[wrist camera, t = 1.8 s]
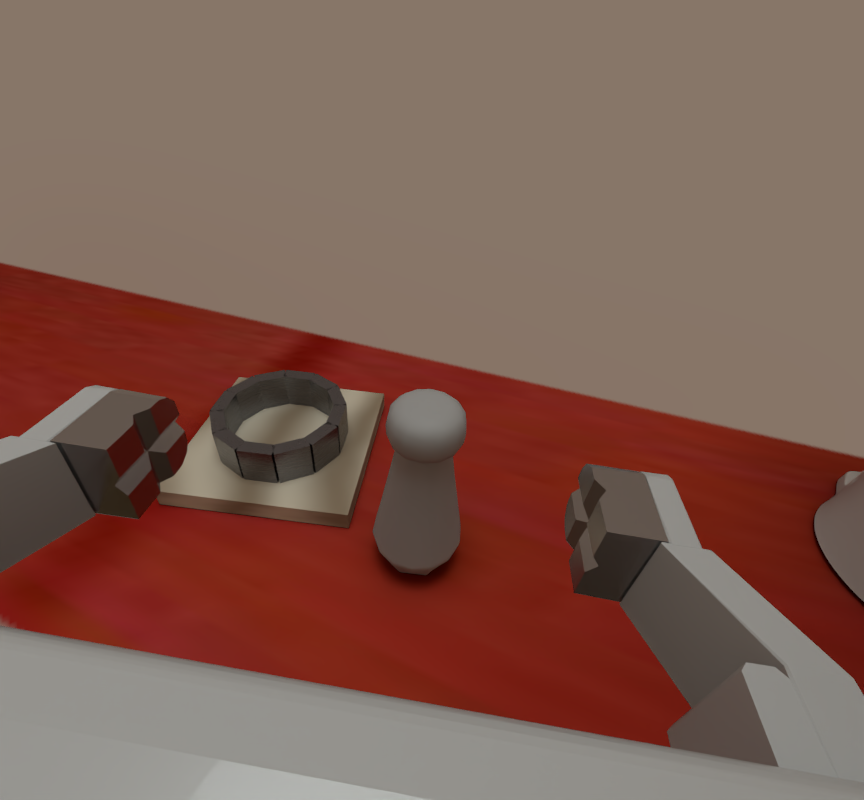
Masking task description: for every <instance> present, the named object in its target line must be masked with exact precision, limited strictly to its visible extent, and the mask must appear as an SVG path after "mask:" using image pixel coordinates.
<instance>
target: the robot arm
mask: <svg viewBox="0 0 864 800" xmlns="http://www.w3.org/2000/svg"><path fill="white" fill-rule="evenodd" d="M178 416H179V412H178V409H177V407H176V404H175V401H173V400H171V399H169V398H166V397H161V396H155V395H150V394H144V393H139V392H133V391H128V390H122V389H114V388H108V387H103V386H98V385H94V386H90V387H85V388H84V389H83V390H81V391H80V392H79V393H77V394H76V395H75V396H73V397H72V398H71V399H69V400H68V401H67V402H65V403H64V404H63V405H61V406H60V407H59V408H57V409H56V410H55V411H53V412H52V413H51V414H49V415H48V416H47V417H45V418H44V419H43V420H41V421H40V422H39V423H37V424H36V425H35V426H33V427H32V428H31V429H29V430H28V431H27V432H25V433H24V434H23V435H21V436H20V437H15V436H9V437H6V438H3V439H0V573H1V572H2V571H4V570H6V569H7V568H9V567H11V566H12V565H14V564H16V563H17V562H19V561H20V560H22V559H24V558H25V557H27V556H29V555H30V554H32V553H34V552H35V551H37V550H39V549H40V548H42V547H44V546H45V545H47V544H49V543H50V542H52V541H54V540H55V539H57V538H59V537H60V536H62V535H64V534H65V533H67V532H69V531H70V530H72V529H74V528H75V527H77V526H79V525H80V524H82V523H84V522H85V521H87V520H89V519H90V518H92V517H94V516H95V515H96V514H95V513H99V514H106V515H114V516H121V517H128V518H135V519H139V518H140V517H141V516H142V515H143V514H144V512H145V511H146V510H147V509H148V507H149V506H150V505H151V504H152V502H153V501H154V500H155V499H156V498H157V496H158V495H159V494H160V493H161V491H160V483H161V482H163V481H165V480H167V479H169V478H171V477H173V476H174V475H175V474H176V473H177V471H178V470H179V469H180V467H181V466H182V465H183V462H184V459H185V456H186V454H187V437H186V434H185V431H184V430H183V429H182V428H181V427H180V426H179V425H178V424H177V423H176V422H175V420H176V419H177V417H178ZM578 480H579V485H580V489H578V490H576V491H575V492H573V493H571V496H570V499H569V501H568V504H567V508H566V514H565V535H566V541H567V542H568V543H569V544H570V545H571V547H572V548H573V549H574V551H573V553H572V555H571V558H570V560H569V564H570V570H571V577H572V584H573V590H574V593H578V594H583V595H588V596H593V597H598V598H603V599H608V600H613V601H619V602H620V605H621V607H622V608H623V610H624V611H625V613H626V614H627V616H628V617H629V618H630V620H631V621H632V623H633V624H634V626H635V627H636V628H637V630H638V631H639V633H640V634H641V636H642V637H643V639H644V640H645V641H646V643H647V644H648V646H649V647H650V649H651V650H652V651H653V653H654V654H655V656H656V657H657V659H658V660H659V661H660V663H661V664H662V666H663V667H664V669H665V670H666V672H667V673H668V674H669V676H670V677H671V679H672V680H673V682H674V683H675V684H676V686H677V687H678V689H679V690H680V692H681V693H682V695H683V696H684V697H685V699H686V700H687V702H688V703H689V705H690V706H691V707H692V709H690V710H689V711H688V712H687V713H686V714H685V715H683V716H682V717H681V718H680V719H679V720H678V721H676V722H675V723H674V724H673V725H672V726H671V727H670V728H669V730H668V731H667V733H668V737H669V741H670V745H671V747H666V746H660V745H655V744H649V743H644V742H638V741H633V740H627V739H622V738H616V737H611V736H605V735H600V734H594V733H589V732H583V731H578V730H572V729H567V728H561V727H556V726H550V725H545V724H539V723H534V722H528V721H523V720H517V719H512V718H506V717H501V716H495V715H490V714H484V713H479V712H473V711H468V710H462V709H457V708H451V707H446V706H440V705H435V704H429V703H424V702H418V701H413V700H407V699H402V698H396V697H391V696H385V695H380V694H374V693H369V692H363V691H358V690H352V689H347V688H341V687H336V686H330V685H325V684H319V683H314V682H308V681H303V680H297V679H292V678H286V677H281V676H275V675H270V674H264V673H259V672H253V671H248V670H242V669H237V668H231V667H226V666H220V665H215V664H209V663H204V662H198V661H193V660H187V659H182V658H176V657H171V656H165V655H159V654H154V653H148V652H143V651H137V650H132V649H126V648H121V647H115V646H110V645H104V644H99V643H93V642H88V641H82V640H77V639H71V638H66V637H60V636H55V635H49V634H44V633H38V632H33V631H27V630H21V629H16V628H10V627H5V626H0V800H864V695H863V694H862V692H861V690H860V689H859V687H858V685H857V683H856V682H855V680H854V679H853V678H852V677H851V676H850V675H849V674H848V673H847V672H846V671H845V670H843V669H842V668H841V667H840V666H839V665H838V664H837V663H836V662H835V661H833V660H832V659H831V658H830V657H829V656H828V655H827V654H826V653H825V652H823V651H822V650H821V649H820V648H819V647H818V646H817V645H816V644H815V643H813V642H812V641H811V640H810V639H809V638H808V637H807V636H806V635H805V634H803V633H802V632H801V631H800V630H799V629H798V628H797V627H796V626H795V625H793V624H792V623H791V622H790V621H789V620H788V619H787V618H786V617H785V616H783V615H782V614H781V613H780V612H779V611H778V610H777V609H776V608H775V607H773V606H772V605H771V604H770V603H769V602H768V601H767V600H766V599H765V598H763V597H762V596H761V595H760V594H759V593H758V592H757V591H756V590H755V589H753V588H752V587H751V586H750V585H749V584H748V583H747V582H746V581H745V580H743V579H742V578H741V577H740V576H739V575H738V574H737V573H736V572H735V571H733V570H732V569H731V568H730V567H729V566H728V565H727V564H726V563H725V562H723V561H722V560H721V559H720V558H719V557H718V556H717V555H716V554H715V553H713V552H712V551H711V550H706V549H702V547H701V544H700V542H699V540H698V537H697V535H696V533H695V530H694V528H693V526H692V524H691V521H690V519H689V517H688V514H687V512H686V510H685V507H684V505H683V503H682V500H681V498H680V496H679V494H678V491H677V489H676V487H675V484H674V482H673V480H672V479H671V478H670V477H669V476H668V475H662V474H655V473H648V472H637V471H632V470H625V469H618V468H612V467H605V466H598V465H592V464H586V465H585V466H584V467H583V468H582V470H581V473H580V475H579V477H578ZM814 527H815V533H816V537H817V540H818V542H819V545H820V547H821V549H822V551H823V553H824V554H825V556H826V558H827V559H828V561H829V563H830V564H831V565H832V567H833V568H834V570H835V571H836V572H837V573H838V575H839V576H840V577H841V578H842V580H843V581H844V582H845V583H846V584H847V585H848V586H849V587H850V589H851V590H852V591H853V592H854V593H855V594H856V595H857V596H858V597H859V598H860V599H861V600H862V601H863V602H864V471H862V472H856V471H849V472H847V473H846V474H844V475H843V476H842V477H841V478H839V479H838V481H837V487H836V494H835V496H834V497H832V498H831V499H829V500H828V501H826V502H825V503H823V504H822V505H821V506H820V507H819V509H818V510H817V512H816V515H815V519H814Z"/></svg>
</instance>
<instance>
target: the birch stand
mask: <svg viewBox="0 0 864 800" xmlns="http://www.w3.org/2000/svg"><path fill="white" fill-rule="evenodd" d="M246 379H248V378H242V377H239V378H238V379H237V381H236V382H235V383H234V385H236V384H238V383H240V382H242V381H244V380H246ZM234 385H233V386H234ZM233 386H232V387H233ZM340 391H341V393H342V395H343V397H344V399H345V402H346V404H347V419H348V435H347V437H346V440H345V443H344V446H343V448H342V451H341V453H339V454H340V455H339V456H337V457H336V458H335V459H334V460H332V461H331V462H330V463H328V464H327V465H326V466H325V467H323V468H322V469H321V470H319V471H318V472H317V473H315V472H314V474H313V475H309V476H305V477H301V478H298V479H294V480H290V481H286V482H283V483H280V481H279V482H278V483H270V482H262V481H254V480H246V479H244V478H243V479H242V478H241V477H240V476H238V475H237V474H236V473H235V472H233V471H232V470H231V469H229V468H228V467H227V466H225V465H224V464H223V463H222V462H221V460H220V457H219V454H218V451H217V447H216V444H215V441H214V438H213V435H212V431H211V421H210V416H209V418H208V419H207V420H206V422H205V423H204V424H203V426H202V427H201V428H200V430H199V431H198V432H197V434H196V435H195V436H194V438H193V439H192V440H191V441H190V443H189V444H188V445H187V454H186V456H185V459H184V462H183V465H182V466H181V467H180V469H179V470H178V471H177V473H176V474H175V475H174V476H173V477H171V478H169V479H167V480H165V481H163V482H161V483H160V491H161V493H160V494H159V495H158V496H157V500H158V502H159V504H163V505H170V506H178V507H186V508H194V509H202V510H210V511H218V512H226V513H234V514H242V515H249V516H257V517H265V518H273V519H281V520H289V521H297V522H305V523H313V524H321V525H328V526H336V527H344V528H349V525H350V522H351V518H352V515H353V511H354V508H355V505H356V501H357V498H358V494H359V491H360V487H361V484H362V480H363V477H364V474H365V470H366V467H367V463H368V460H369V456H370V453H371V449H372V446H373V443H374V439H375V436H376V432H377V429H378V425H379V422H380V418H381V415H382V412H383V408H384V394H380V393H371V392H363V391H354V390H345V389H340ZM328 417H329V416H328V415H326V414H324V413H322V412H321V411H319V410H317V409H316V408H314V407H311V406H303V405H294V404H286V405H281V406H277V407H272V408H267V409H263V410H262V411H260V412H258V413H257V414H255V415H253V416H252V417H250V418H248V419H247V420H245V421H243V423H242V424H241V426H240V427H239V429H238V430H237V432H236V433H235V435H237V436H238V437H240V438H241V439H243V440H244V441H248V442H256V443H265V444H273V445H275V444H279V443H283V442H287V441H292V440H296V439H300V438H304V437H306V436H307V435H309V434H310V433H312V432H313V431H315V430H316V429H318V428H319V427H320V426H322V425H323V424H325V423H326V422H327V419H328Z"/></svg>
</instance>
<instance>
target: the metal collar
mask: <svg viewBox="0 0 864 800" xmlns="http://www.w3.org/2000/svg"><path fill="white" fill-rule="evenodd" d="M254 376H255V377H253V376H252V377H250V378H248V379H246V380H244V381H242V382H240V383H238V384H236V385H234V386H233V387H231V388H229V389H227V391H224V393H223V394H222V395H221V397H220V398H219V399H218V401H217V402H216V403H215V404H214V406H213V407H212V408H211V410H210V421H211V431H212V435H213V438H214V441H215V444H216V447H217V451H218V454H219V457H220V460H221V462H222V463H223V464H224V465H225V466H227V467H228V468H229V469H231V470H232V471H233V472H235V473H236V474H237V475H238V476H240V477H241V478H242V479H243V478H244V479H246V480H254V481H262V482H270V483H278V482H279V481H280V483H283V482H286V481H290V480H294V479H298V478H301V477H305V476H309V475H313V474H314V472H315V473H317V472H318V471H319V470H321V469H322V468H323V467H325V466H326V465H327V464H328V463H330V462H331V461H332V460H334V459H335V458H336V457H337V456H339V455H340V454H339V453H341V451H342V448H343V446H344V443H345V440H346V437H347V435H348V419H347V404H346V402H345V399H344V397H343V395H342V393H341V391H340V389H339V387H338V386H337V385H336V384H334V383H333V382H331V381H329V380H327V379H325V378H323V377H322V376H320V375H318V374H315V373H308V372H300V371H291V370H286V372H285V370H282V371H277V372H271V373H265V374H260V375H254ZM286 404H294V405H303V406H311V407H314V408H316V409H317V410H319V411H321V412H322V413H324V414H326V415H328V416H329V417H328V419H327V422H326V423H325V424H323V425H322V426H320V427H319V428H318V429H316V430H315V431H313V432H312V433H310V434H309V435H307V436H306V437H304V438H300V439H296V440H292V441H287V442H283V443H279V444H275V445H273V444H265V443H256V442H248V441H244V440H243V439H241V438H240V437H238V436H237V435H235V433H236V432H237V430H238V429H239V427H240V426H241V424H242V423H243V421H245V420H247V419H248V418H250V417H252V416H253V415H255V414H257V413H258V412H260V411H262V410H263V409H267V408H272V407H277V406H281V405H286Z"/></svg>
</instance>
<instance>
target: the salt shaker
mask: <svg viewBox="0 0 864 800" xmlns="http://www.w3.org/2000/svg"><path fill="white" fill-rule="evenodd" d="M386 434H387V436H388V439H389V441H390V443H391V445H392V447H393V449H394V450H395V452H394V456H393V460H392V463H391V467H390V471H389V474H388V478H387V481H386V485H385V489H384V492H383V496H382V500H381V503H380V506H379V510H378V513H377V516H376V520H375V524H374V528H373V534H374V537H375V540H376V543H377V546H378V549H379V552H380V553H381V554H382V555H383V556H384V557H385V558H386V559H387V560H388V561H389V562H390V563H391V564H392V565H393V566H394V567H395V568H396V569H397V570H398V571H399V572H402V573H410V574H419V575H427V574H428V573H430V572H431V571H432V570H433V569H435V568H437V567H438V566H440V565H442V564H443V563H445V562H447V561H448V560H449V559H450V557H451V556H452V554H453V553H454V551H455V550H456V548H457V547H458V545H459V542H460V517H459V509H458V500H457V492H456V484H455V475H454V463H453V456H454V455H455V453H456V452H457V451H458V450H459V449H460V447H461V446H462V445H463V443H464V440H465V436H466V413H465V411H464V409H463V408H462V406H461V405H460V403H459V402H458V401H457V400H456V399H454V398H453V397H451V396H449V395H448V394H446V393H444V392H441V391H437V390H433V389H417V390H414V391H411V392H408V393H405V394H403V395H401V396H400V397H398V398H397V399H396V400H395V401H394V402H393V403H392V404H391V406H390V410H389V413H388V417H387V421H386Z"/></svg>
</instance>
